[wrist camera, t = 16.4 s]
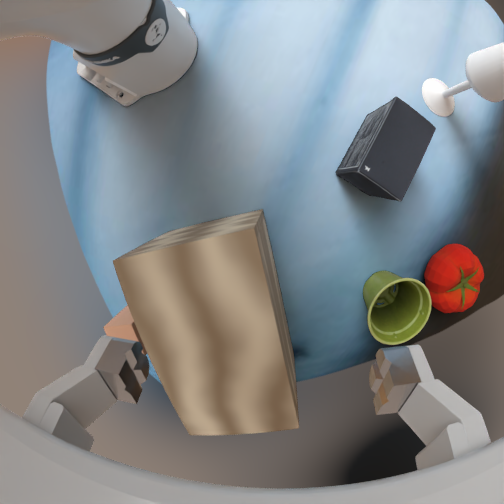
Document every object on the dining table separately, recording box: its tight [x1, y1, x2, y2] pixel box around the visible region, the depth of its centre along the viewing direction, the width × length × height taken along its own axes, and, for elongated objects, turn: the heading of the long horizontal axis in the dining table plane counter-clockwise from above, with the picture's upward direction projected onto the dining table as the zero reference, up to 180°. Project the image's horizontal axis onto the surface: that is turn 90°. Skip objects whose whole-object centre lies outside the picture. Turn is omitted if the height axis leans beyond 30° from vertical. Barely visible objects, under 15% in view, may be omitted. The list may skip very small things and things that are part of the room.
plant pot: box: [363, 271, 431, 345], centre depth 36 cm, size 9×9×9 cm
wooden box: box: [113, 209, 299, 435], centre depth 35 cm, size 14×24×16 cm, turn 13°
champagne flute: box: [422, 43, 504, 117], centre depth 20 cm, size 7×7×24 cm
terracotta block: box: [104, 305, 147, 355], centre depth 39 cm, size 5×5×10 cm
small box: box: [336, 97, 436, 201], centre depth 31 cm, size 11×6×10 cm, turn 152°
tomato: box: [424, 244, 484, 313], centre depth 35 cm, size 11×11×8 cm
